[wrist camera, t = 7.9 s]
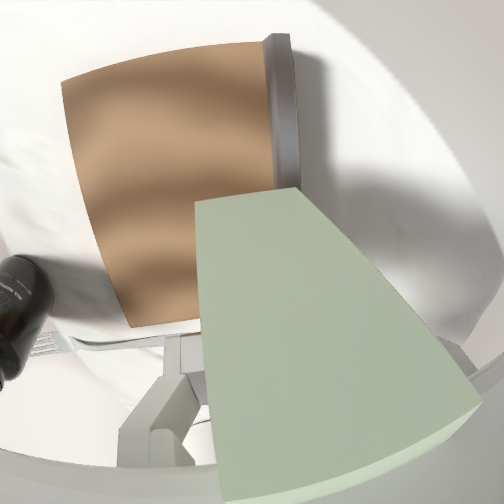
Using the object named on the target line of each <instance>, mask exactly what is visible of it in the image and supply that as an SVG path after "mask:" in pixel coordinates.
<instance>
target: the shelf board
mask: <svg viewBox="0 0 504 504" xmlns="http://www.w3.org/2000/svg"><path fill="white" fill-rule="evenodd" d="M61 87H62V96H63V103H64V110H65V117H66V123H67V128H68V134H69V139H70V144H71V149H72V154H73V159H74V163H75V168H76V172H77V176H78V180H79V184H80V188H81V192H82V195H83V199H84V203H85V206H86V210H87V213H88V216H89V220H90V223H91V226H92V229H93V232H94V235H95V239H96V242H97V245H98V247H99V250H100V253H101V256H102V259H103V262H104V264H105V267H106V270H107V272H108V275H109V278H110V280H111V283H112V285H113V288H114V290H115V293H116V295H117V298H118V300H119V302H120V305H121V307H122V309H123V312H124V314H125V316H126V319H127V321H128V323H129V325H130V327H131V328H135V327H142V326H150V325H157V324H165V323H172V322H178V321H185V320H192V319H198V318H200V310H199V296H198V279H197V260H196V236H195V202H196V201H202V200H208V199H214V198H221V197H227V196H234V195H240V194H247V193H254V192H262V191H269V190H277V189H285V188H293V187H296V188H297V189H298V190H299V191H300V192H301V176H300V152H299V133H298V117H297V102H296V88H295V76H294V65H293V58H292V53H291V43H290V34H285V33H272V34H271V35H269V36H268V37H267V38H266V39H265V40H263V41H262V42H243V43H229V44H218V45H209V46H201V47H193V48H187V49H180V50H174V51H169V52H164V53H158V54H154V55H149V56H144V57H140V58H136V59H132V60H128V61H124V62H120V63H117V64H113V65H110V66H106V67H103V68H100V69H97V70H93V71H90V72H87V73H84V74H82V75H79V76H76V77H73V78H71V79H68V80H65V81H63V82H61Z"/></svg>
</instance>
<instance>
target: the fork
mask: <svg viewBox="0 0 504 504" xmlns="http://www.w3.org/2000/svg"><path fill="white" fill-rule="evenodd" d="M181 334H188V333H179V334H170V335H161V336H155V337H149V338H144V339H139V340H133V341H127V342H121V343H115V344H108V345H87V344H84V343H82V342H80V341H78V340H77V339H75V338H73V337H70V336H69V339H70V341H71V343H72V345H73V347H74V349H75V350H79V349H83V350H91V351H103V350H116V349H128V348H143V347H160V346H164V340H165V338H166V336H174V335H181ZM43 336H52V338H48V339H44V340H40V341H36V342H35V344H34V345H37V344H41V343H45V342H54V343H55V344H51V345H46V346H42V347H37V348H32V350H31V351H36V350H42V349H47V348H58V350H52V351H46V352H40V353H34V354H30V355H29V357H32V356H39V355H45V354H53V353H67V352H73V351H75V350H74V349H73V348H72V347H71V346H70V344H69V343H68V342H67V340H66V339H65V337H64V336H63V335H62V334H61V333H60V331H51V332H46V333H42V334H39V335H38V337H37V338H40V337H43Z"/></svg>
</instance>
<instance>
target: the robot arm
mask: <svg viewBox="0 0 504 504" xmlns="http://www.w3.org/2000/svg"><path fill="white" fill-rule="evenodd" d="M435 337H436V338H437V339H438V340H439V342H440V343H441V344H442V345H443V347H444V348H445V349H446V350H447V352H448V353H449V354H450V356H451V357H452V358H453V360H454V361H455V362H456V363H457V365H458V366H459V367H460V369H461V370H462V371H463V373H464V374H465V376H466V377H467V378H468V380H469V381H470V382H471V384H472V385H473V387H474V388H475V389H476V391H477V392H478V394H479V395H480V396H481V398H482V399H483V402H482V404H481V405H480V406H479V407H478V408H477V409H476V410H475V412H474V413H473V414H472V415H471V416H470V417H469V418H468V419H467V420H466V422H465V423H464V424H463V425H462V426H461V427H460V428H459V429H458V430H457V431H456V432H455V433H454V434H453V435H452V436H451V437H450V438H449V439H448V440H447V441H445V442H443V443H442V444H440V445H438V446H437V447H435V448H433V449H432V450H430V451H428V452H426V453H424V454H423V455H421V456H419V457H417V458H415V459H413V460H411V461H410V462H408V463H406V464H404V465H402V466H400V467H397V468H395V469H393V470H391V471H389V472H387V473H385V474H382V475H380V476H378V477H375V478H373V479H371V480H368V481H366V482H363V483H361V484H358V485H356V486H353V487H350V488H347V489H345V490H342V491H339V492H336V493H333V494H330V495H327V496H323V497H320V498H317V499H313V500H310V501H306V502H302V503H298V504H504V352H503V353H502V354H500V355H499V356H497V357H496V358H495V359H493V360H492V361H490V362H489V363H487V364H486V365H484V366H483V367H481V368H480V369H479V370H478V369H477V368H476V367H475V365H474V364H473V363H472V362H471V360H470V359H469V358H468V356H467V355H466V354H465V353H464V352H463V350H462V349H461V348H460V346H459V345H456V344H454V343H452V342H450V341H447V340H445V339H443V338H440V337H438V336H436V335H435ZM202 405H208V396H207V388H206V378H205V369H204V358H203V348H202V336H201V332H196V333H188V334H181V335H174V336H166V338H165V340H164V365H163V376H162V377H158V379H157V380H156V381H155V383H154V384H153V385H152V386H151V388H150V389H149V390H148V392H147V393H146V394H145V396H144V397H143V398H142V400H141V401H140V402H139V404H138V405H137V406H136V407H135V409H134V410H133V411H132V413H131V414H130V415H129V417H128V418H127V419H126V421H125V422H124V423H123V425H122V426H121V427H120V428H119V435H118V450H117V467H104V466H91V465H82V464H74V463H66V462H60V461H54V460H48V459H43V458H38V457H33V456H29V455H24V454H20V453H16V452H12V451H8V450H5V449H1V448H0V504H225V503H224V502H223V499H222V493H221V488H220V482H219V476H218V470H217V463H216V457H215V450H214V443H213V436H212V429H211V421H208V422H203V423H199V424H196V425H193V426H191V425H192V423H193V421H194V419H195V417H196V415H197V413H198V411H199V409H200V408H201V407H200V406H202Z"/></svg>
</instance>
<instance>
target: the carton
mask: <svg viewBox="0 0 504 504" xmlns="http://www.w3.org/2000/svg"><path fill="white" fill-rule="evenodd" d="M195 236H196V260H197V279H198V296H199V310H200V324H201V336H202V348H203V358H204V369H205V378H206V388H207V396H208V405H209V413H210V421H211V429H212V436H213V443H214V450H215V457H216V463H217V470H218V476H219V482H220V488H221V493H222V499H223V502H224V503H225V504H298V503H302V502H306V501H310V500H313V499H317V498H320V497H323V496H327V495H330V494H333V493H336V492H339V491H342V490H345V489H347V488H350V487H353V486H356V485H358V484H361V483H363V482H366V481H368V480H371V479H373V478H375V477H378V476H380V475H382V474H385V473H387V472H389V471H391V470H393V469H395V468H397V467H400V466H402V465H404V464H406V463H408V462H410V461H411V460H413V459H415V458H417V457H419V456H421V455H423V454H424V453H426V452H428V451H430V450H432V449H433V448H435V447H437V446H438V445H440V444H442V443H443V442H445V441H447V440H448V439H449V438H450V437H451V436H452V435H453V434H454V433H455V432H456V431H457V430H458V429H459V428H460V427H461V426H462V425H463V424H464V423H465V422H466V420H467V419H468V418H469V417H470V416H471V415H472V414H473V413H474V412H475V410H476V409H477V408H478V407H479V406H480V405H481V404H482V402H483V399H482V398H481V396H480V395H479V394H478V392H477V391H476V389H475V388H474V387H473V385H472V384H471V382H470V381H469V380H468V378H467V377H466V376H465V374H464V373H463V371H462V370H461V369H460V367H459V366H458V365H457V363H456V362H455V361H454V360H453V358H452V357H451V356H450V354H449V353H448V352H447V350H446V349H445V348H444V347H443V345H442V344H441V343H440V342H439V340H438V339H437V338H436V337H435V335H434V334H433V333H432V332H431V330H430V329H429V328H428V327H427V326H426V324H425V323H424V322H423V321H422V319H421V318H420V317H419V316H418V315H417V314H416V312H415V311H414V310H413V309H412V308H411V306H410V305H409V304H408V303H407V302H406V301H405V300H404V298H403V297H402V296H401V295H400V294H399V293H398V292H397V290H396V289H395V288H394V287H393V286H392V285H391V284H390V283H389V281H388V280H387V279H386V278H385V277H384V276H383V275H382V274H381V273H380V272H379V270H378V269H377V268H376V267H375V266H374V265H373V264H372V263H371V262H370V261H369V260H368V259H367V258H366V256H365V255H364V254H363V253H362V252H361V251H360V250H359V249H358V248H357V247H356V246H355V245H354V244H353V243H352V242H351V241H350V240H349V239H348V238H347V237H346V236H345V235H344V234H343V233H342V232H341V231H340V230H339V229H338V228H337V227H336V226H335V225H334V224H333V223H332V222H331V221H330V220H329V219H328V218H327V217H326V216H325V215H324V214H323V213H322V212H321V211H320V210H319V209H318V208H317V207H316V206H315V205H314V204H313V203H312V202H311V201H310V200H309V199H308V198H307V197H306V196H305V195H304V194H303V193H301V192H300V191H299V190H298V189H297V188H296V187H293V188H285V189H277V190H269V191H262V192H254V193H247V194H240V195H234V196H227V197H221V198H214V199H208V200H202V201H196V202H195Z"/></svg>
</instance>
